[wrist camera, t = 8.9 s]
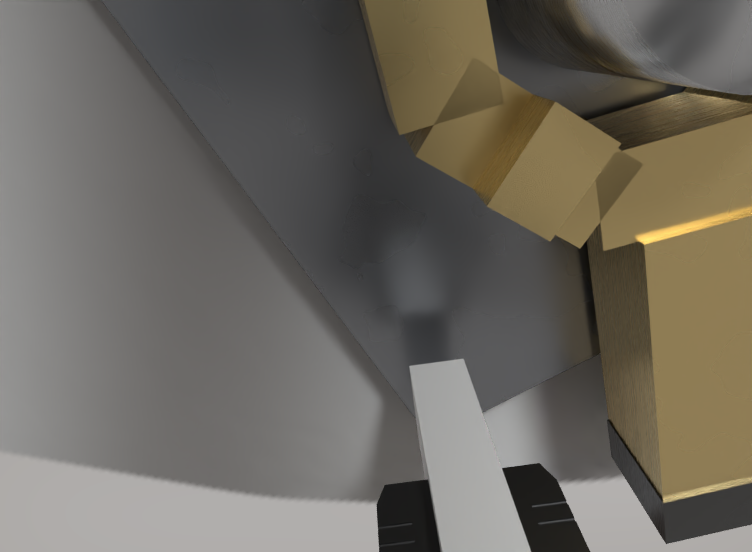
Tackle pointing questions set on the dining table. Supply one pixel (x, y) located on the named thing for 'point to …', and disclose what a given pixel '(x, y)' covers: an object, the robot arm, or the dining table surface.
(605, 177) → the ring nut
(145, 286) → the dining table surface
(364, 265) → the base plate
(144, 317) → the dining table surface
